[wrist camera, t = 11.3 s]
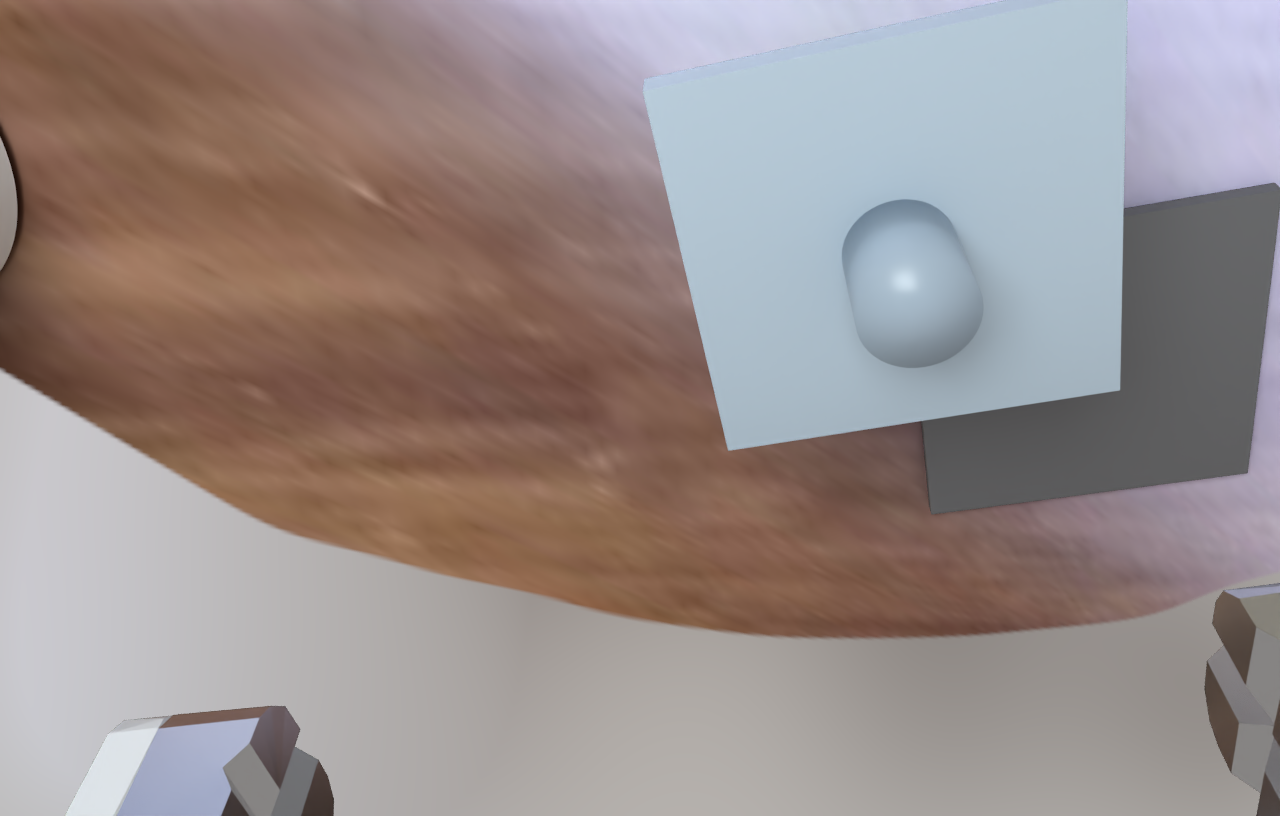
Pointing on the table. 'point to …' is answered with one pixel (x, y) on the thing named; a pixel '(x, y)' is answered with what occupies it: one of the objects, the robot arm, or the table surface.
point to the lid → (904, 217)
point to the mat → (1139, 371)
